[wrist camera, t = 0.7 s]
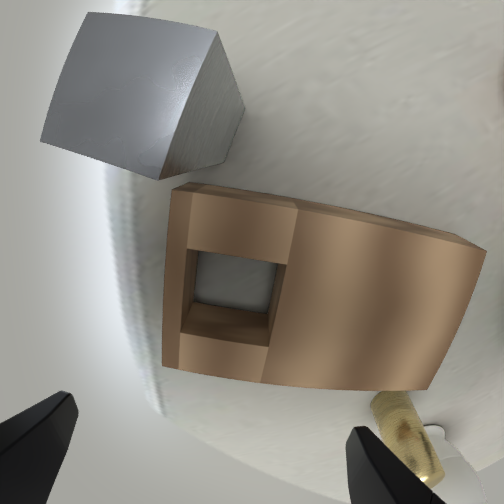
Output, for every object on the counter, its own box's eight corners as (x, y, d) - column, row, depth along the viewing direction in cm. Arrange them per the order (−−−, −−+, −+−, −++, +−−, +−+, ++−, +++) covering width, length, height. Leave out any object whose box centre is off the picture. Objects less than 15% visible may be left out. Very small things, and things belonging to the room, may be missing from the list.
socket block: (455, 234, 19) (486, 251, 15) (408, 359, 23) (426, 389, 19) (189, 182, 19) (171, 189, 15) (176, 333, 22) (161, 365, 18)
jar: (364, 478, 29) (386, 575, 14) (372, 434, 26) (408, 557, 11) (439, 454, 28) (474, 540, 14) (460, 405, 25) (515, 505, 10)
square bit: (245, 108, 17) (217, 30, 5) (223, 162, 18) (158, 180, 6) (190, 90, 17) (88, 12, 5) (170, 144, 18) (39, 141, 6)
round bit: (413, 390, 24) (453, 470, 14) (390, 416, 25) (421, 496, 15) (386, 383, 23) (425, 472, 14) (363, 410, 24) (390, 498, 15)
